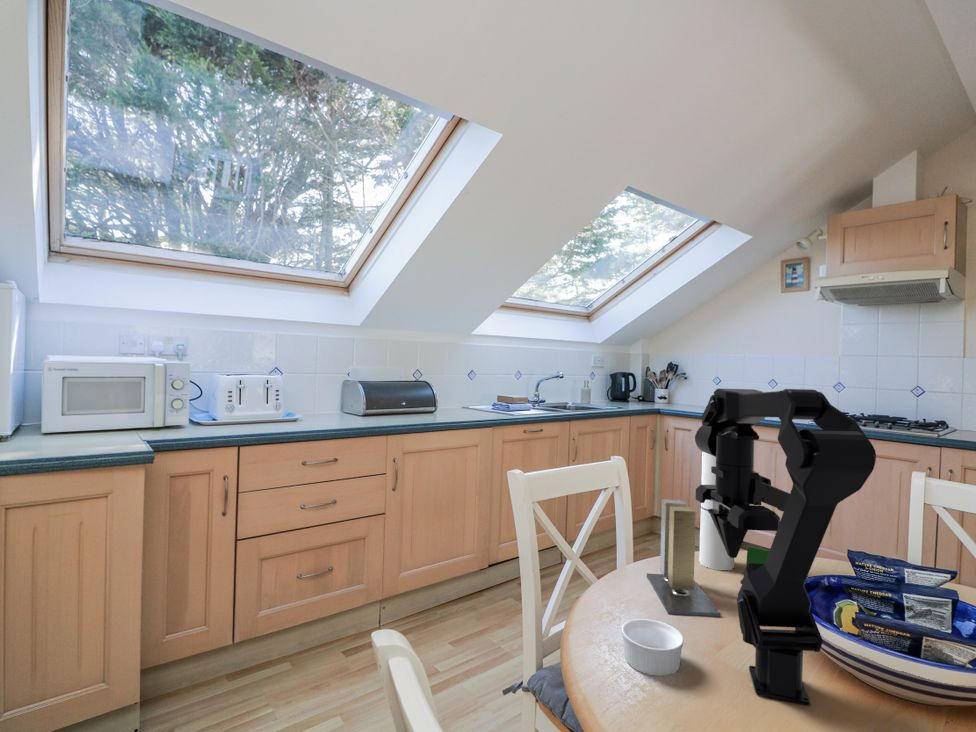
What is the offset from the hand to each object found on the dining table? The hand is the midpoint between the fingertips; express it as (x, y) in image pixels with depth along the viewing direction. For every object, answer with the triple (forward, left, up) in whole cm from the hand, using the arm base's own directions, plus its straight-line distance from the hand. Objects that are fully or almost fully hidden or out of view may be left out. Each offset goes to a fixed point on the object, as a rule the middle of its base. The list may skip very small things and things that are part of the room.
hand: (732, 557), depth 87 cm
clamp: (+29, -12, -13) cm, 34 cm away
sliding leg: (+12, +8, -13) cm, 19 cm away
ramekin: (-14, +12, -13) cm, 23 cm away
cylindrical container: (+32, 0, -13) cm, 34 cm away
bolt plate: (+12, +8, -13) cm, 19 cm away
